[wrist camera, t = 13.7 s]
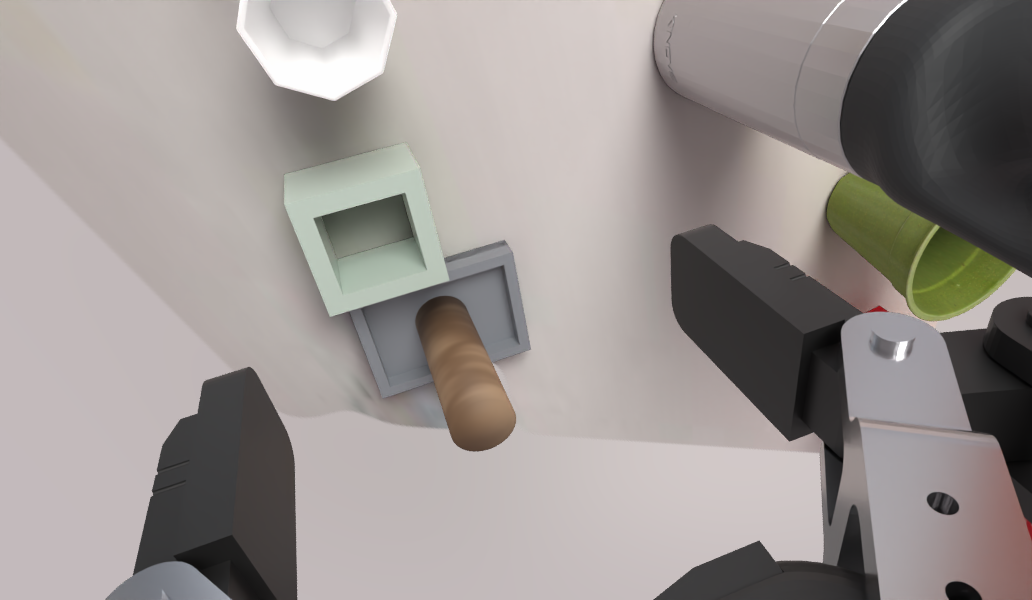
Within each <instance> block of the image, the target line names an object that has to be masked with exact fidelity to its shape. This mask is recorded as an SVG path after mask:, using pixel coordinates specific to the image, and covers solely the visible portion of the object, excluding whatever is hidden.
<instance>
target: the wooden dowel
mask: <svg viewBox="0 0 1032 600" xmlns="http://www.w3.org/2000/svg"><path fill="white" fill-rule="evenodd" d="M415 324H416V328H417V331H418V334H419V337H420V341H421V344H422V347H423V350H424V353H425V356H426V359H427V362H428V366H429V369H430V372H431V375H432V378H433V381H434V384H435V387H436V390H437V394H438V397H439V400H440V403H441V406H442V409H443V412H444V415H445V419H446V422H447V425H448V428H449V431H450V434H451V437H452V439H453V441H454V443H455V444H456V445H457V446H458V447H460V448H462V449H464V450H467V451H483V450H488V449H491V448H493V447H495V446H497V445H499V444H500V443H502V442H503V441H504V440H505V439H507V438H508V436H509V435H510V434H511V433H512V431H513V429H514V427H515V423H516V415H515V412H514V409H513V407H512V405H511V403H510V401H509V399H508V397H507V395H506V392H505V390H504V388H503V386H502V384H501V381H500V379H499V377H498V375H497V373H496V371H495V369H494V366H493V364H492V362H491V360H490V358H489V356H488V353H487V351H486V349H485V347H484V345H483V343H482V340H481V338H480V336H479V334H478V332H477V330H476V327H475V325H474V323H473V321H472V319H471V317H470V315H469V312H468V310H467V308H466V306H465V305H464V303H463V302H462V301H460V300H459V299H457V298H455V297H452V296H438V297H435V298H432V299H430V300H428V301H427V302H426V303H424V304H423V305H422V306H421V308H420V309H419V310H418V312H417V315H416V319H415Z"/></svg>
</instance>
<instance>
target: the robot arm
mask: <svg viewBox="0 0 1032 600" xmlns="http://www.w3.org/2000/svg"><path fill="white" fill-rule="evenodd" d="M654 53H655V61H656V64H657V67H658V70H659V72H660V74H661V76H662V78H663V79H664V81H665V82H666V84H667V85H668V86H669V87H670V88H671V89H672V90H673V91H675V92H676V93H678V94H680V95H682V96H684V97H686V98H688V99H690V100H692V101H694V102H697V103H699V104H701V105H703V106H705V107H707V108H709V109H711V110H713V111H715V112H718V113H720V114H722V115H724V116H726V117H729V118H731V119H733V120H735V121H737V122H739V123H742V124H744V125H746V126H748V127H750V128H753V129H755V130H757V131H759V132H761V133H764V134H766V135H768V136H770V137H772V138H774V139H777V140H779V141H781V142H783V143H785V144H788V145H790V146H792V147H794V148H796V149H798V150H801V151H803V152H805V153H807V154H809V155H812V156H814V157H816V158H818V159H821V160H823V161H825V162H828V163H830V164H832V165H834V166H836V167H838V168H841V169H843V170H845V171H847V172H849V173H852V174H854V175H856V176H858V177H860V178H863V179H865V180H867V181H869V182H871V183H873V184H876V185H878V186H880V188H881V189H882V190H883V191H884V192H885V194H886V195H887V196H888V197H890V198H891V199H892V200H893V201H894V202H896V203H897V204H899V205H900V206H902V207H904V208H906V209H908V210H909V211H911V212H913V213H915V214H917V215H919V216H921V217H923V218H925V219H926V220H928V221H930V222H932V223H934V224H936V225H938V226H940V227H942V228H944V229H945V230H947V231H949V232H951V233H953V234H955V235H956V236H958V237H960V238H962V239H964V240H966V241H967V242H969V243H971V244H973V245H975V246H976V247H978V248H980V249H982V250H983V251H985V252H987V253H989V254H990V255H992V256H994V257H996V258H998V259H999V260H1001V261H1003V262H1005V263H1006V264H1008V265H1010V266H1012V267H1013V268H1015V269H1017V270H1019V271H1021V272H1022V273H1024V274H1026V275H1028V276H1029V277H1031V278H1032V0H664V2H663V4H662V6H661V9H660V11H659V14H658V18H657V22H656V26H655V30H654ZM671 294H672V307H673V311H674V314H675V317H676V319H677V322H678V324H679V325H680V327H681V328H682V330H683V331H684V332H685V333H686V334H687V335H688V336H689V337H690V338H691V339H692V340H693V341H694V343H695V344H696V345H697V346H698V347H699V348H700V349H701V350H702V351H703V352H704V353H705V354H706V355H707V356H708V357H709V358H710V359H711V360H712V361H713V362H714V363H715V364H716V365H717V367H718V368H719V369H720V370H721V371H722V372H723V373H724V374H725V375H726V376H727V377H728V378H729V379H730V380H731V381H732V382H733V383H734V384H735V385H736V386H737V387H738V388H739V389H740V391H741V392H742V393H743V394H744V395H745V396H746V397H747V398H748V399H749V400H750V401H751V402H752V403H753V404H754V405H755V406H756V407H757V408H758V409H759V410H760V411H761V412H762V413H763V415H764V416H765V417H766V418H767V419H768V420H769V421H770V422H771V423H772V424H773V425H774V426H775V427H776V428H777V429H778V430H779V431H780V432H781V433H782V434H783V435H784V436H785V437H786V439H787V440H788V441H789V442H790V441H792V440H795V439H797V438H800V437H803V436H805V435H808V434H810V433H813V432H814V433H815V434H816V435H817V436H818V437H819V438H820V439H821V440H822V442H821V447H820V470H821V490H822V511H823V532H824V555H823V563H818V562H809V561H777V562H775V560H774V559H773V558H772V557H771V555H770V554H769V553H768V551H767V550H766V549H765V547H764V546H763V545H762V544H761V542H760V541H757V542H755V543H752V544H750V545H747V546H745V547H743V548H740V549H738V550H735V551H733V552H731V553H728V554H726V555H723V556H721V557H719V558H716V559H714V560H712V561H709V562H706V563H704V564H702V565H699V566H697V567H694V568H693V569H691V570H690V571H689V572H688V573H686V574H685V575H684V576H683V577H681V578H680V579H679V580H677V581H676V582H675V583H674V584H672V585H671V586H670V587H669V588H667V589H666V590H665V591H664V592H663V593H661V594H660V595H659V596H657V597H656V598H655V599H654V600H1032V540H1031V537H1030V534H1029V531H1028V528H1027V525H1026V522H1025V519H1024V518H1026V519H1027V520H1028V521H1029V522H1030V523H1031V524H1032V297H1019V298H1013V299H1009V300H1006V301H1004V302H1001V303H1000V304H998V305H997V306H996V307H995V308H994V310H993V312H992V315H991V318H990V321H989V324H988V327H987V329H977V330H966V331H955V332H944V333H939V332H938V331H937V330H936V329H935V328H933V327H932V326H930V325H929V324H927V323H925V322H923V321H921V320H919V319H916V318H914V317H911V316H907V315H904V314H899V313H893V312H869V313H862V312H861V311H859V310H858V309H856V308H855V307H853V306H852V305H850V304H849V303H847V302H846V301H845V300H843V299H842V298H840V297H839V296H837V295H836V294H834V293H833V292H832V291H830V290H829V289H827V288H826V287H824V286H823V285H821V284H820V283H818V282H817V281H816V280H814V279H813V278H811V277H810V276H808V277H806V275H805V273H804V272H803V271H801V270H800V269H798V268H797V267H795V266H794V265H792V266H790V264H789V262H788V261H787V260H785V259H784V258H782V257H781V256H779V255H778V254H776V253H775V252H773V251H772V250H771V249H768V248H765V247H762V246H759V245H756V244H753V243H750V242H747V241H744V240H743V241H740V242H738V241H736V240H735V239H734V238H732V237H731V236H729V235H728V234H727V233H725V232H724V231H723V230H721V229H720V228H718V227H717V226H715V225H712V224H710V225H706V226H703V227H700V228H697V229H694V230H690V231H687V232H684V233H681V234H678V235H675V236H674V237H673V239H672V241H671ZM294 465H295V463H294V455H293V450H292V446H291V442H290V439H289V436H288V433H287V431H286V429H285V427H284V425H283V423H282V421H281V419H280V417H279V415H278V413H277V411H276V410H275V408H274V406H273V404H272V402H271V400H270V398H269V396H268V394H267V392H266V391H265V389H264V387H263V385H262V383H261V381H260V379H259V377H258V376H257V374H256V372H255V371H254V370H253V369H252V368H251V367H247V368H244V369H241V370H238V371H234V372H231V373H228V374H225V375H222V376H219V377H215V378H212V379H209V380H206V381H204V383H203V386H202V391H201V397H200V402H199V409H198V414H195V415H192V416H189V417H186V418H183V419H180V421H179V422H178V424H177V425H176V426H175V428H174V429H173V431H172V432H171V434H170V435H169V437H168V438H167V439H166V441H165V443H164V444H163V446H162V450H161V454H160V459H159V463H158V468H157V472H158V475H156V476H155V481H154V485H153V489H152V492H153V496H152V497H151V499H150V502H149V507H148V511H147V516H146V520H145V524H144V529H143V533H142V538H141V542H140V546H139V551H138V555H137V559H136V564H135V569H134V573H133V576H132V577H130V578H129V579H127V580H126V581H125V582H124V583H122V584H121V585H120V586H118V587H117V588H116V589H115V590H114V591H113V592H112V593H111V594H110V595H109V596H108V597H107V598H106V600H297V564H296V516H295V514H296V513H295V466H294Z"/></svg>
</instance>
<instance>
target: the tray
mask: <svg viewBox="0 0 1032 600" xmlns="http://www.w3.org/2000/svg"><path fill="white" fill-rule="evenodd" d="M444 261H445V265H446V269H447V273H448V276H449V280H450V281H446V282H443V283H440V284H436V285H433V286H430V287H427V288H423V289H420V290H417V291H414V292H410V293H407V294H404V295H400V296H397V297H394V298H391V299H387V300H384V301H381V302H377V303H374V304H371V305H368V306H364V307H361V308H358V309H354V310H351V311H349V312H350V315H351V317H352V320H353V323H354V325H355V328H356V330H357V333H358V336H359V338H360V341H361V343H362V346H363V349H364V351H365V354H366V356H367V359H368V362H369V364H370V367H371V369H372V372H373V375H374V377H375V380H376V382H377V385H378V388H379V390H380V393H381V395H382V398H386V397H389V396H392V395H395V394H398V393H401V392H404V391H407V390H410V389H413V388H416V387H419V386H422V385H425V384H428V383H431V382H434V381H433V378H432V375H431V372H430V369H429V366H428V362H427V359H426V356H425V353H424V350H423V347H422V344H421V341H420V337H419V334H418V331H417V328H416V324H415V319H416V315H417V312H418V310H419V309H420V308H421V306H422V305H423V304H424V303H426V302H427V301H428V300H430V299H432V298H435V297H438V296H452V297H455V298H457V299H459V300H460V301H462V302H463V303H464V305H465V306H466V308H467V310H468V312H469V315H470V317H471V319H472V321H473V323H474V325H475V327H476V330H477V332H478V334H479V336H480V338H481V340H482V343H483V345H484V347H485V349H486V351H487V353H488V356H489V358H490V360H491V362H495V361H498V360H501V359H504V358H507V357H510V356H513V355H516V354H519V353H522V352H525V351H528V350H531V347H530V342H529V337H528V331H527V326H526V320H525V315H524V310H523V304H522V299H521V294H520V288H519V283H518V278H517V272H516V267H515V262H514V256H513V252H512V250H511V249H510V247H509V246H508V244H507V243H506V241H505V240H503V241H500V242H497V243H493V244H490V245H486V246H483V247H480V248H476V249H473V250H470V251H466V252H463V253H460V254H456V255H453V256H450V257H446V258H444Z"/></svg>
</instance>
